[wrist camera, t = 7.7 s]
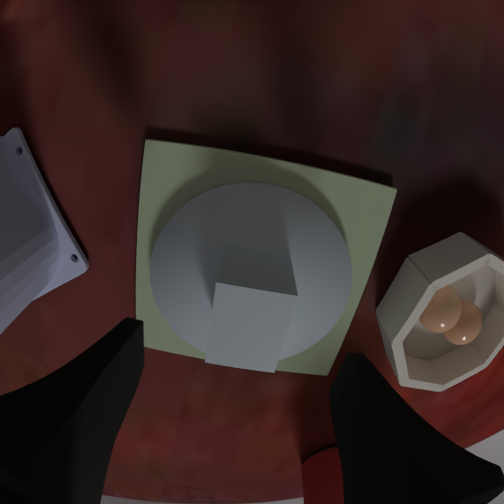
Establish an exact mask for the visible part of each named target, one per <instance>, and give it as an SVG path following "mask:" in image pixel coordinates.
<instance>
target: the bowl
mask: <svg viewBox="0 0 504 504" xmlns="http://www.w3.org/2000/svg"><path fill="white" fill-rule="evenodd" d="M408 257H409V258H408ZM408 257H406V259H405V261H404V263H403V264H402V266H401V268H400V270H399V272H398V273H397V275H396V277H395V279H394V280H393V282H392V284H391V285H390V287H389V289H388V291H387V292H386V294H385V296H384V297H383V299H382V300H381V302H380V304H379V305H378V307H377V309H376V312H375V313H376V316H377V320H378V324H379V328H380V332H381V335H382V339H383V343H384V347H385V351H386V354H387V356H388V359H389V361H390V363H391V365H392V368H393V370H394V372H395V375H396V377H397V379H398V382H399V384H400V385H401V386H406V387H412V388H418V389H425V390H431V391H438V392H440V391H443V390H445V389H447V388H449V387H451V386H453V385H455V384H457V383H459V382H461V381H463V380H464V379H466V378H468V377H470V376H472V375H474V374H475V373H477V372H479V371H481V370H482V369H484V368H486V366H488V365H489V363H490V362H491V361H492V360H493V358H494V357H495V356H496V354H497V353H498V352H499V350H500V349H501V348H502V346H503V345H504V259H503V258H501V257H500V256H499V255H498V254H496V253H495V252H493V251H492V250H490V249H489V248H487V247H485V246H484V245H482V244H481V243H479V242H477V241H476V240H474V239H473V238H471V237H469V236H468V235H466V234H464V233H463V232H458V233H456V234H454V235H452V236H450V237H448V238H446V239H444V240H441V241H439V242H437V243H435V244H433V245H431V246H428V247H426V248H424V249H422V250H420V251H417V252H415V253H413V254H411V255H408Z"/></svg>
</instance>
